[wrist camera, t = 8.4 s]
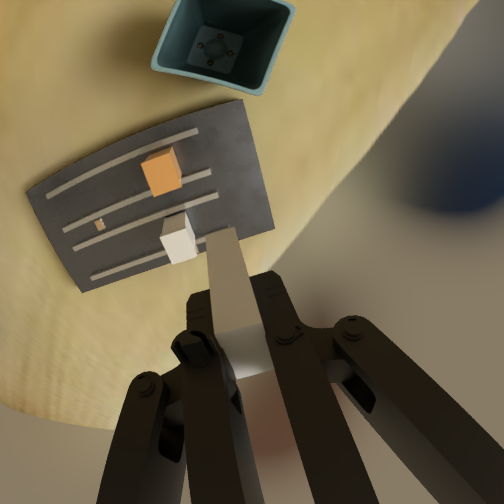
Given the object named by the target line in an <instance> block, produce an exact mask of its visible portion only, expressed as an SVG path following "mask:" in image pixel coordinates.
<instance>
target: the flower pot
mask: <svg viewBox="0 0 504 504" xmlns="http://www.w3.org/2000/svg"><path fill="white" fill-rule="evenodd" d="M295 12H296V8H295V6H293V5H292V4H290V3H288V2H286V1H283V0H176V1H175V4H174V6H173V8H172V11H171V13H170V15H169V17H168V20H167V22H166V24H165V27H164V29H163V31H162V34H161V37H160V39H159V41H158V44H157V46H156V49H155V51H154V54H153V56H152V58H151V62H150V68H151V69H152V70H154V71H158V72H165V73H170V74H175V75H180V76H185V77H189V78H194V79H198V80H202V81H206V82H210V83H214V84H218V85H221V86H225V87H229V88H232V89H236V90H239V91H242V92H245V93H248V94H251V95H254V96H260V95H262V94H263V93H264V91H265V89H266V86H267V83H268V80H269V78H270V75H271V72H272V69H273V67H274V64H275V61H276V59H277V56H278V53H279V51H280V49H281V46H282V44H283V41H284V39H285V36H286V34H287V32H288V29H289V27H290V24H291V22H292V20H293V18H294V15H295ZM219 34H221V35H223V38H221V39H219V38H218V35H219ZM198 44H202V45H203V46H202V47H201V48H198ZM229 51H231V52H232V55H231V56H229V55H228V52H229ZM208 61H212V64H211V65H208V64H207V62H208Z"/></svg>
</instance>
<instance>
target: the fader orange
mask: <svg viewBox="0 0 504 504" xmlns="http://www.w3.org/2000/svg"><path fill="white" fill-rule="evenodd" d="M141 166H142V169H143V171H144V174H145V176H146V179H147V181H148V184H149V187H150V189H151V192H152V194H153V197H156V196H158V195H161V194H164V193H166V192H169V191H172V190H175V189H178V188H180V187H182V184H181V176H182V173H181V170H180V167H179V164H178V161H177V158H176V156H175V153H174V150H173V147H172V146H171V147H169V148H166V149H163V150H161V151H158V152H155V153H153V154H150V155H149V156H148V157H147V159H146V160H145V161H144V162H142V163H141Z"/></svg>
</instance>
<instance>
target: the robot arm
mask: <svg viewBox="0 0 504 504" xmlns="http://www.w3.org/2000/svg"><path fill="white" fill-rule="evenodd" d="M205 238H206V252H207V264H208V276H209V287H210V289H208V290H204V291H201V292H197V293H193V294H191V295H190V297H189V299H188V301H187V303H186V313H187V314H186V320H187V330H184V331H182V332H181V333H180V334H178V335H177V336H176V337H175V339H174V340H173V342H172V345H171V349H172V351H173V352H174V354H175V355H176V357H177V358H178V360H179V361H180V362H181V363H180V364H179V365H178V366H177V367H176V368H174V369H172V370H171V371H169V372H167V373H165V374H163V375H161V376H160V375H158V374H157V373H155V372H151V371H148V372H143V373H141V374H139V375H137V376H136V377H135V378H134V379H133V380H132V382H131V384H130V386H129V388H128V391H127V394H126V397H125V400H124V403H123V407H122V410H121V413H120V416H119V419H118V423H117V426H116V429H115V432H114V436H113V439H112V443H111V446H110V450H109V454H108V457H107V461H106V465H105V469H104V473H103V476H102V480H101V485H100V489H99V494H98V498H97V502H96V504H180V501H181V495H182V488H183V482H184V475H185V470H186V463H187V471H188V480H189V488H190V496H191V503H192V504H265V503H264V498H263V495H262V490H261V486H260V482H259V478H258V473H257V469H256V465H255V460H254V456H253V451H252V447H251V442H250V437H249V433H248V428H247V423H246V418H245V413H244V409H243V404H242V399H241V393H240V391H239V388H238V386H237V384H236V380H235V375H236V378H237V379H240V378H243V377H247V376H251V375H255V374H259V373H262V372H266V371H269V370H273V369H275V373H276V376H277V380H278V383H279V386H280V390H281V393H282V397H283V400H284V403H285V407H286V410H287V413H288V417H289V420H290V423H291V427H292V430H293V434H294V437H295V440H296V443H297V447H298V450H299V453H300V456H301V460H302V463H303V466H304V469H305V473H306V476H307V479H308V483H309V486H310V489H311V492H312V496H313V498H314V502H315V504H379V502H378V499H377V496H376V494H375V491H374V489H373V486H372V484H371V481H370V479H369V476H368V474H367V471H366V469H365V466H364V464H363V461H362V459H361V456H360V454H359V451H358V449H357V447H356V444H355V442H354V439H353V437H352V434H351V432H350V430H349V427H348V425H347V422H346V420H345V418H344V415H343V413H342V410H341V408H340V406H339V403H338V401H337V398H336V396H335V394H334V391H333V389H332V387H331V384H330V383H336V384H337V385H338V386H339V388H340V389H341V390H342V391H343V392H344V394H345V395H346V396H347V397H348V398H349V400H350V401H351V402H352V403H353V404H354V406H356V408H357V409H358V410H359V411H360V413H361V414H362V415H363V416H364V418H365V419H366V420H367V421H368V422H369V423H370V425H371V426H372V427H373V428H374V429H375V431H376V432H377V433H378V434H379V435H380V436H381V437H382V439H383V440H384V441H385V442H386V443H387V445H388V446H389V447H390V448H391V449H392V450H393V452H394V453H395V454H396V455H397V456H398V457H399V458H400V460H401V461H402V462H403V463H404V464H405V465H406V467H407V468H408V469H409V470H410V471H411V472H412V473H413V475H414V476H415V477H416V478H417V479H418V480H419V481H420V483H421V484H422V485H423V486H424V487H425V488H426V489H427V490H428V492H429V493H430V494H431V495H432V496H433V497H434V498H435V499H436V500H437V502H438V503H439V504H504V449H503V448H502V447H501V446H500V445H499V444H498V443H497V442H496V441H495V440H494V439H493V438H492V437H491V436H490V435H489V434H488V433H487V432H486V431H485V430H484V429H483V428H482V427H481V426H480V425H479V424H478V423H477V422H476V421H475V420H474V419H473V418H472V417H471V416H470V415H469V414H468V413H467V412H466V411H465V410H464V409H463V408H462V407H461V406H460V405H459V404H458V403H457V402H456V401H455V400H454V399H453V398H452V397H451V396H450V395H449V394H448V393H447V392H445V390H444V389H442V388H441V387H440V386H439V385H438V384H437V383H436V382H435V381H434V380H433V379H432V378H431V377H430V376H429V375H428V374H427V373H426V372H424V370H422V369H421V368H420V367H419V366H418V365H417V364H416V363H415V362H414V361H413V360H412V359H411V358H410V357H409V356H407V355H406V354H405V353H404V352H403V351H402V350H401V349H400V348H399V347H398V346H397V345H396V344H394V343H393V342H392V341H391V340H390V339H389V338H388V337H387V336H386V335H384V334H383V333H382V332H381V331H380V330H379V329H378V328H377V327H376V326H375V325H374V324H372V323H371V322H370V321H369V320H367V319H365V318H364V317H361V316H356V315H354V316H347V317H344V318H342V319H340V320H339V321H338V322H337V323H336V324H335V326H334V328H322V329H321V328H312V327H309V326H307V325H305V324H304V323H302V322H301V321H300V319H299V318H298V315H297V313H296V311H295V309H294V306H293V304H292V302H291V300H290V297H289V295H288V293H287V291H286V288H285V286H284V284H283V281H282V279H281V277H280V276H279V275H278V274H277V273H275V272H274V271H272V270H271V271H268V272H264V273H261V274H258V275H254V276H251V277H249V275H248V272H247V269H246V265H245V262H244V258H243V255H242V251H241V248H240V244H239V241H238V237H237V234H236V230H235V227H231V228H228V229H224V230H221V231H217V232H214V233H210V234H207V235H205Z"/></svg>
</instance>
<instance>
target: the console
mask: <svg viewBox="0 0 504 504" xmlns="http://www.w3.org/2000/svg"><path fill="white" fill-rule="evenodd" d="M171 146H172V147H173V150H174V153H175V156H176V158H177V161H178V164H179V167H180V170H181V173H182V176H181V184H182V187H180V188H178V189H175V190H172V191H169V192H166V193H164V194H161V195H158V196H156V197H153V194H152V192H151V189H150V187H149V184H148V181H147V179H146V176H145V174H144V171H143V169H142V166H141V163H142V162H144V161H145V160H146V159H147V157H148V156H149V155H150V154H153V153H155V152H158V151H161V150H163V149H166V148H169V147H171ZM26 194H27V197H28V199H29V201H30V203H31V205H32V207H33V209H34V212H35V214H36V216H37V218H38V220H39V222H40V224H41V225H42V227H43V229H44V231H45V233H46V235H47V237H48V239H49V240H50V242H51V244H52V246H53V248H54V249H55V251H56V253H57V254H58V256H59V258H60V260H61V261H62V263H63V264H64V266H65V268H66V269H67V271H68V273H69V274H70V276H71V277H72V279H73V280H74V282H75V283H76V285H77V286H78V288H79V289H80V291H81V292H82V293H84V292H87V291H90V290H93V289H95V288H98V287H101V286H104V285H107V284H110V283H113V282H116V281H119V280H121V279H124V278H127V277H130V276H133V275H136V274H139V273H142V272H145V271H148V270H151V269H154V268H157V267H160V266H163V265H166V264H169V263H171V261H170V259H169V257H168V254H167V252H166V250H165V248H164V246H163V244H162V242H161V239H160V234H162V229H163V224H164V219H165V218H168V217H171V216H174V215H177V214H179V213H182V212H185V211H186V214H187V217H188V219H189V222H190V224H191V227H192V229H193V232H194V235H195V248H196V252H197V254H199V253H202V252H205V251H206V238H205V235H207V234H210V233H214V232H217V231H221V230H224V229H228V228H231V227H235V230H236V234H237V237H238V240H242V239H245V238H248V237H251V236H254V235H257V234H260V233H263V232H266V231H270V230H273V229H275V227H274V222H273V218H272V214H271V209H270V205H269V201H268V197H267V193H266V189H265V185H264V181H263V176H262V172H261V168H260V164H259V160H258V156H257V153H256V149H255V145H254V141H253V137H252V133H251V129H250V125H249V122H248V118H247V114H246V110H245V107H244V103H243V99H238V100H234V101H230V102H226V103H223V104H219V105H216V106H212V107H209V108H206V109H202V110H199V111H196V112H193V113H190V114H187V115H184V116H181V117H178V118H175V119H172V120H169V121H166V122H164V123H161V124H158V125H156V126H153V127H151V128H148V129H146V130H143V131H141V132H138V133H136V134H133V135H131V136H129V137H126V138H124V139H122V140H119V141H117V142H115V143H113V144H111V145H109V146H106V147H104V148H102V149H100V150H98V151H96V152H94V153H92V154H90V155H88V156H86V157H84V158H82V159H80V160H78V161H77V162H75V163H73V164H71V165H69V166H67V167H66V168H64V169H62V170H60V171H58V172H57V173H55V174H53V175H52V176H50V177H48V178H47V179H45V180H43V181H42V182H40V183H38V184H37V185H35V186H34V187H32V188H31V189H29V190H28V191H27V192H26Z"/></svg>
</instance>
